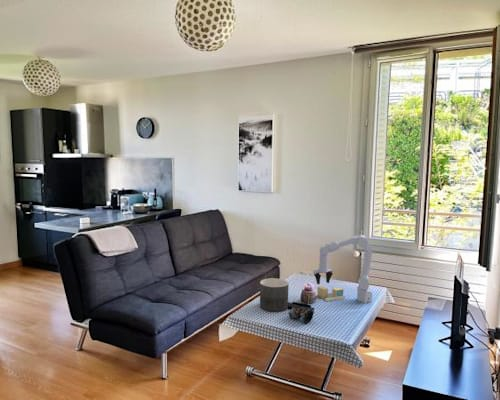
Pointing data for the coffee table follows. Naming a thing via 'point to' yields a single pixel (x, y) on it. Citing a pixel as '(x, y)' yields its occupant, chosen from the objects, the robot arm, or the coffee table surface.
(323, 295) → the carton
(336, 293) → the carton faced
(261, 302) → the planter
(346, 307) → the coffee table surface
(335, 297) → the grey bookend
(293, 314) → the figurine
